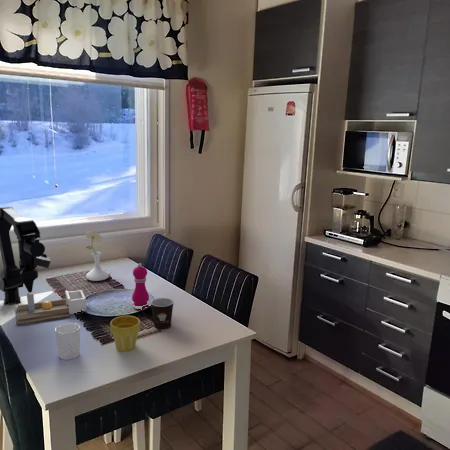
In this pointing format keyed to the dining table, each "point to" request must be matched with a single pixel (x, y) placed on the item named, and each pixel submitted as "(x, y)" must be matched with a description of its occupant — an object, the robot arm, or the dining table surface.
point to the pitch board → (42, 312)
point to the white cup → (68, 340)
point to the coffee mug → (161, 312)
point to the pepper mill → (140, 286)
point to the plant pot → (125, 332)
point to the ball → (46, 305)
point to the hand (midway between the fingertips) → (29, 288)
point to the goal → (75, 300)
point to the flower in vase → (96, 259)
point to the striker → (30, 301)
